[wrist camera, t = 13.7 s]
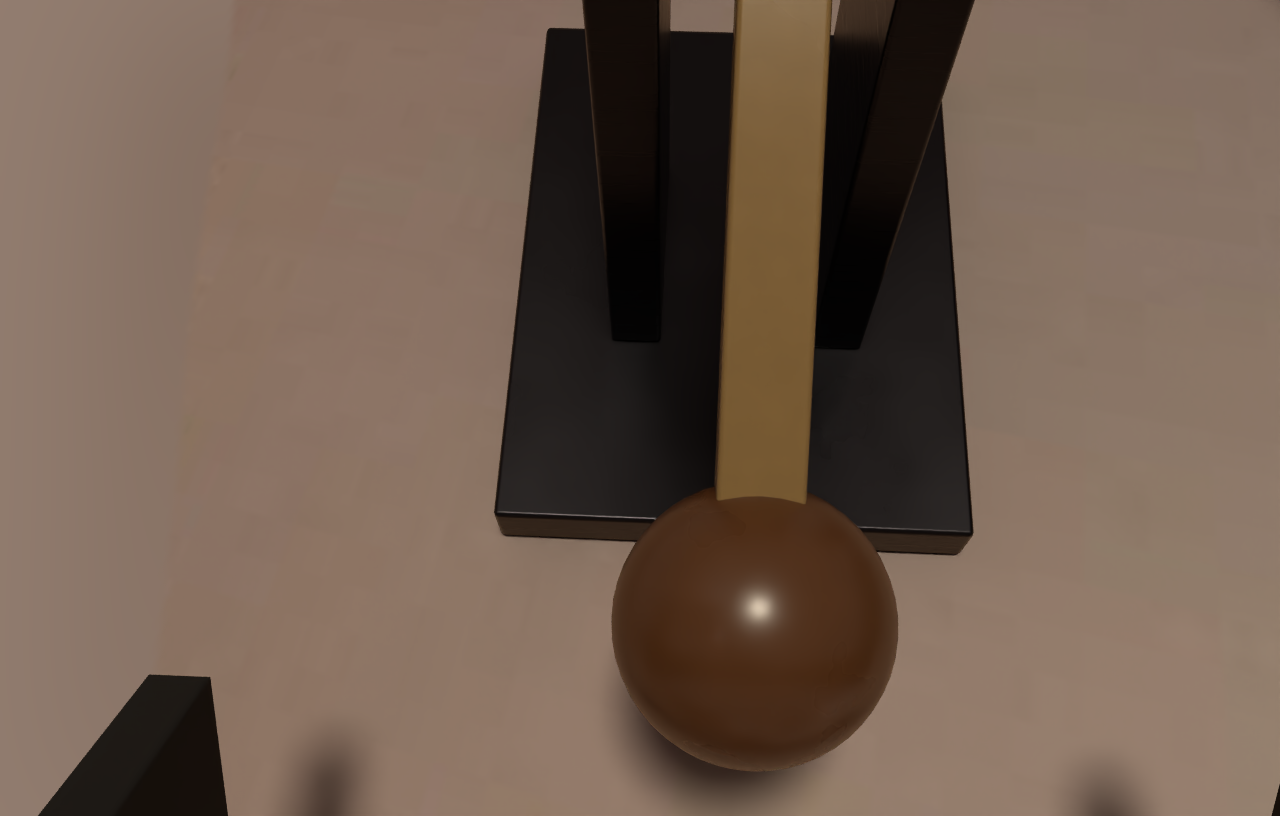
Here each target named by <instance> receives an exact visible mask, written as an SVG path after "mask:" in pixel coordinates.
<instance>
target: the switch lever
mask: <svg viewBox="0 0 1280 816" xmlns="http://www.w3.org/2000/svg"><path fill="white" fill-rule="evenodd" d="M831 14H832V0H735V4H734V28H733V52H732V76H731V100H730V124H729V148H728V172H727V196H726V220H725V244H724V268H723V292H722V316H721V340H720V364H719V388H718V412H717V436H716V460H715V484H714V487H710V488H707V489H704V490H701V491H699V492H697V493H694V494H692V495H690V496H687V497H686V498H684V499H682V500H681V501H679V502H678V503H676V504H674V505H673V506H671V507H670V508H669V509H667V510H666V511H665V512H664V513H662V514H661V515H660V516H659V517H657V518H656V519H655V521H654V522H653V523H652V524H651V525H650V526H649V527H648V528H647V529H646V530H645V531H644V533H643V534H642V535H641V537H640V538H639V539H638V541H637V542H636V543H635V545H634V547H633V548H632V550H631V552H630V554H629V556H628V558H627V559H626V561H625V563H624V565H623V568H622V571H621V573H620V576H619V578H618V581H617V585H616V590H615V594H614V598H613V607H612V642H613V647H614V653H615V658H616V662H617V665H618V668H619V671H620V674H621V677H622V679H623V681H624V683H625V685H626V688H627V690H628V692H629V694H630V696H631V698H632V699H633V701H634V703H635V704H636V706H637V707H638V709H639V710H640V712H641V713H642V714H643V715H644V717H645V718H646V719H647V720H648V721H649V723H650V724H651V725H652V726H653V727H654V728H655V729H656V730H657V731H658V732H660V733H661V734H662V735H663V736H664V737H665V738H666V739H668V740H669V741H670V742H672V743H673V744H675V745H676V746H677V747H679V748H680V749H682V750H683V751H685V752H687V753H689V754H691V755H692V756H694V757H696V758H698V759H701V760H703V761H706V762H708V763H711V764H714V765H717V766H721V767H725V768H729V769H735V770H743V771H772V770H779V769H786V768H790V767H793V766H797V765H801V764H804V763H806V762H809V761H811V760H814V759H816V758H818V757H820V756H822V755H824V754H826V753H827V752H829V751H831V750H833V749H835V748H836V747H837V746H839V745H840V744H841V743H843V742H844V741H845V740H846V739H848V738H849V737H850V736H851V735H852V734H853V733H854V732H855V731H856V730H857V729H858V728H859V727H860V726H861V725H862V724H863V723H864V721H865V720H866V719H867V718H868V716H869V715H870V714H871V712H872V711H873V710H874V708H875V706H876V705H877V703H878V701H879V700H880V698H881V696H882V695H883V693H884V691H885V688H886V686H887V683H888V681H889V679H890V676H891V673H892V669H893V665H894V662H895V658H896V650H897V642H898V613H897V606H896V599H895V595H894V592H893V588H892V585H891V581H890V579H889V576H888V574H887V571H886V569H885V567H884V565H883V562H882V560H881V558H880V556H879V555H878V553H877V552H876V550H875V548H874V547H873V545H872V543H871V542H870V541H869V540H868V538H867V537H866V536H865V535H864V533H863V532H862V531H861V530H860V529H859V528H858V527H857V526H856V525H855V524H854V523H853V522H852V521H851V520H850V519H849V518H848V517H847V516H846V515H845V514H843V513H842V512H841V511H839V510H838V509H837V508H835V507H834V506H832V505H831V504H830V503H828V502H827V501H825V500H823V499H821V498H819V497H817V496H815V495H814V494H812V493H809V492H807V485H808V465H809V445H810V426H811V406H812V387H813V367H814V347H815V328H816V308H817V289H818V269H819V249H820V230H821V210H822V190H823V171H824V151H825V132H826V112H827V92H828V73H829V53H830V34H831Z"/></svg>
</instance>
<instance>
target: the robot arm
mask: <svg viewBox="0 0 1280 816" xmlns="http://www.w3.org/2000/svg"><path fill="white" fill-rule="evenodd" d="M38 816H228V812H227V804H226V796H225V789H224V781H223V773H222V765H221V757H220V750H219V742H218V734H217V726H216V718H215V711H214V703H213V695H212V687H211V679H210V677H194V676H170V675H148V677H147V678H146V679H145V680H144V682H143V683H142V684H141V685H140V687H139V688H138V689H137V691H136V692H135V693H134V694H133V696H132V697H131V698H130V699H129V701H128V702H127V703H126V705H125V706H124V707H123V709H122V710H121V711H120V712H119V713H118V715H117V716H116V717H115V718H114V720H113V721H112V722H111V724H110V725H109V726H108V727H107V729H106V730H105V731H104V733H103V734H102V735H101V736H100V738H99V739H98V740H97V741H96V743H95V744H94V745H93V746H92V748H91V749H90V750H89V752H88V753H87V754H86V755H85V757H84V758H83V759H82V760H81V762H80V763H79V764H78V766H77V767H76V768H75V769H74V771H73V772H72V773H71V774H70V776H69V777H68V778H67V780H66V781H65V782H64V783H63V785H62V786H61V787H60V788H59V790H58V791H57V792H56V794H55V795H54V796H53V797H52V799H51V800H50V801H49V802H48V804H47V805H46V806H45V807H44V809H43V810H42V811H41V813H40V814H39V815H38ZM1272 816H1280V785H1279V789H1278V793H1277V797H1276V801H1275V805H1274V809H1273V813H1272Z"/></svg>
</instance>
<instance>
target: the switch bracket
mask: <svg viewBox="0 0 1280 816" xmlns="http://www.w3.org/2000/svg"><path fill="white" fill-rule="evenodd" d="M974 1H975V0H840V5H839V11H838V16H837V21H836V27H835V32H834V35H830V53H829V73H828V92H827V112H826V132H825V151H824V171H823V190H822V210H821V230H820V249H819V269H818V289H817V308H816V328H815V347H814V367H813V387H812V406H811V426H810V445H809V465H808V485H807V492H809V493H812V494H814V495H815V496H817V497H819V498H821V499H823V500H825V501H827V502H828V503H830V504H831V505H832V506H834V507H835V508H837V509H838V510H839V511H841V512H842V513H843V514H845V515H846V516H847V517H848V518H849V519H850V520H851V521H852V522H853V523H854V524H855V525H856V526H857V527H858V528H859V529H860V530H861V531H862V532H863V533H864V535H865V536H866V537H867V538H868V540H869V541H870V542H871V543H872V545H873V547H874V548H875V550H879V551H902V552H926V553H949V554H957V553H960V552H961V550H962V549H963V548H964V546H965V545H966V544H967V542H968V541H969V540H970V538H971V537H972V535H973V533H974V532H973V518H972V504H971V491H970V477H969V464H968V450H967V436H966V423H965V409H964V396H963V382H962V369H961V355H960V341H959V328H958V314H957V301H956V287H955V273H954V260H953V246H952V233H951V219H950V205H949V192H948V178H947V165H946V151H945V137H944V124H943V110H942V98H943V95H944V92H945V89H946V86H947V83H948V80H949V77H950V74H951V71H952V68H953V65H954V62H955V59H956V56H957V53H958V50H959V47H960V44H961V41H962V37H963V34H964V31H965V28H966V25H967V22H968V19H969V16H970V13H971V10H972V7H973V4H974ZM582 3H583V14H584V26H585V29H571V28H549V29H548V31H547V35H546V44H545V53H544V62H543V71H542V80H541V90H540V99H539V108H538V117H537V126H536V135H535V144H534V153H533V162H532V172H531V181H530V190H529V199H528V208H527V217H526V226H525V235H524V244H523V254H522V263H521V272H520V281H519V290H518V299H517V308H516V317H515V327H514V336H513V345H512V354H511V363H510V372H509V381H508V390H507V399H506V409H505V418H504V427H503V436H502V445H501V454H500V463H499V472H498V481H497V491H496V500H495V509H494V514H495V517H496V519H497V522H498V524H499V527H500V529H501V532H502V533H503V534H505V535H528V536H551V537H575V538H598V539H622V540H638V539H639V538H640V537H641V535H642V534H643V533H644V531H645V530H646V529H647V528H648V527H649V526H650V525H651V524H652V523H653V522H654V521H655V519H656V518H657V517H659V516H660V515H661V514H662V513H664V512H665V511H666V510H667V509H669V508H670V507H671V506H673V505H674V504H676V503H678V502H679V501H681V500H682V499H684V498H686V497H687V496H690V495H692V494H694V493H697V492H699V491H701V490H704V489H707V488H710V487H714V484H715V460H716V436H717V412H718V388H719V364H720V340H721V316H722V292H723V268H724V244H725V220H726V196H727V172H728V148H729V124H730V100H731V76H732V52H733V33H726V32H687V31H670V3H671V0H582Z"/></svg>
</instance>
